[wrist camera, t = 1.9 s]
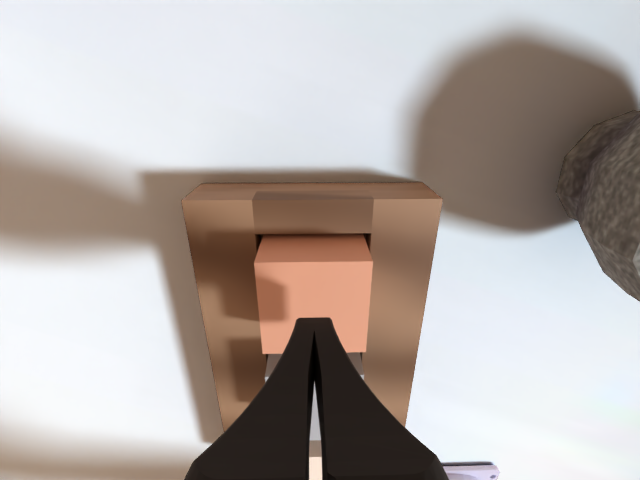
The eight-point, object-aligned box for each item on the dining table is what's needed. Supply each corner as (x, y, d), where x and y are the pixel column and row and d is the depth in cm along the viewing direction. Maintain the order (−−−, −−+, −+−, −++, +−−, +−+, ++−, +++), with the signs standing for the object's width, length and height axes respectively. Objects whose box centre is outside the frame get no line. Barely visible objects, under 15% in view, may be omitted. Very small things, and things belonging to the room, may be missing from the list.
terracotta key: (356, 308, 19) (365, 352, 16) (270, 309, 19) (262, 353, 16) (361, 229, 17) (373, 261, 14) (265, 230, 17) (253, 262, 13)
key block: (387, 442, 27) (395, 482, 24) (242, 446, 27) (234, 486, 24) (422, 182, 18) (442, 198, 15) (201, 183, 17) (180, 200, 15)
